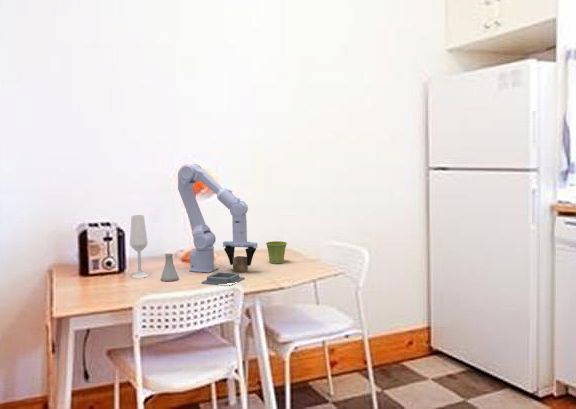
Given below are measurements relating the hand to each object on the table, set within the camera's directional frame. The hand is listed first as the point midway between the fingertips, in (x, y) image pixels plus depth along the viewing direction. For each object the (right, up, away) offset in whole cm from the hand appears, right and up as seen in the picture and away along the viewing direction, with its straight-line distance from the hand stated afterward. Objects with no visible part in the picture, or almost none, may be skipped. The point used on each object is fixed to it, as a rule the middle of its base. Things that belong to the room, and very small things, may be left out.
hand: (240, 264), depth 230 cm
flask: (-26, -5, -12) cm, 29 cm away
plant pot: (+14, -1, +18) cm, 23 cm away
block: (0, -3, 0) cm, 3 cm away
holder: (-5, -5, -16) cm, 17 cm away
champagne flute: (-40, -4, -5) cm, 40 cm away
